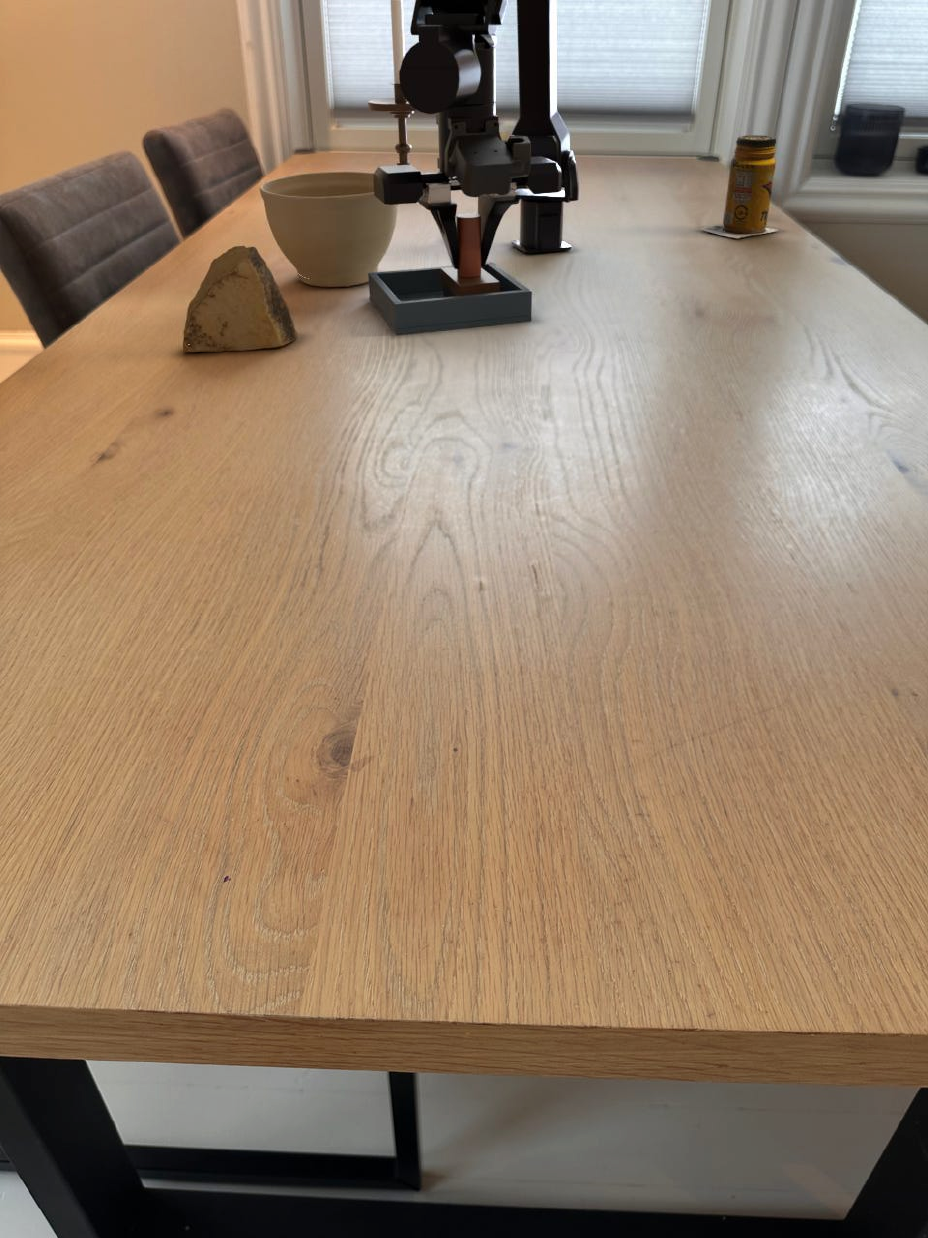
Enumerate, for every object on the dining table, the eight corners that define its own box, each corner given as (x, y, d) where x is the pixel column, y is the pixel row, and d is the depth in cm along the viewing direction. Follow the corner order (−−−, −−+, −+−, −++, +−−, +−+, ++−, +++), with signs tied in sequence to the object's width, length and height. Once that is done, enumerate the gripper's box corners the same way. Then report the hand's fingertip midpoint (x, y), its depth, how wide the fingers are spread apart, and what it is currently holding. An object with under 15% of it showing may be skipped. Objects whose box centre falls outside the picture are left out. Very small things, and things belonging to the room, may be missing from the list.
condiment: (778, 231, 134) (793, 137, 127) (736, 239, 130) (750, 142, 124) (740, 223, 139) (752, 132, 132) (698, 230, 135) (709, 137, 129)
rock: (152, 338, 89) (244, 330, 86) (159, 250, 89) (251, 239, 86) (217, 376, 99) (301, 370, 96) (223, 296, 100) (307, 288, 96)
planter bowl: (244, 281, 115) (231, 184, 109) (344, 257, 125) (337, 167, 119) (330, 304, 106) (320, 200, 100) (431, 276, 116) (427, 179, 110)
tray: (369, 300, 107) (367, 272, 105) (492, 289, 110) (492, 261, 109) (396, 335, 96) (394, 304, 94) (531, 321, 99) (532, 290, 98)
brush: (441, 295, 106) (438, 209, 101) (478, 292, 107) (477, 206, 102) (460, 314, 100) (458, 223, 95) (499, 310, 101) (500, 220, 96)
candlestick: (448, 193, 164) (443, -54, 145) (413, 203, 157) (402, -56, 137) (398, 188, 169) (386, -51, 150) (361, 197, 162) (343, -53, 142)
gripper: (391, 116, 84) (400, 294, 93) (585, 105, 88) (577, 277, 97) (367, 104, 93) (378, 267, 102) (544, 95, 97) (540, 253, 106)
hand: (468, 267), depth 102 cm, fingers closed on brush, 2 cm apart
